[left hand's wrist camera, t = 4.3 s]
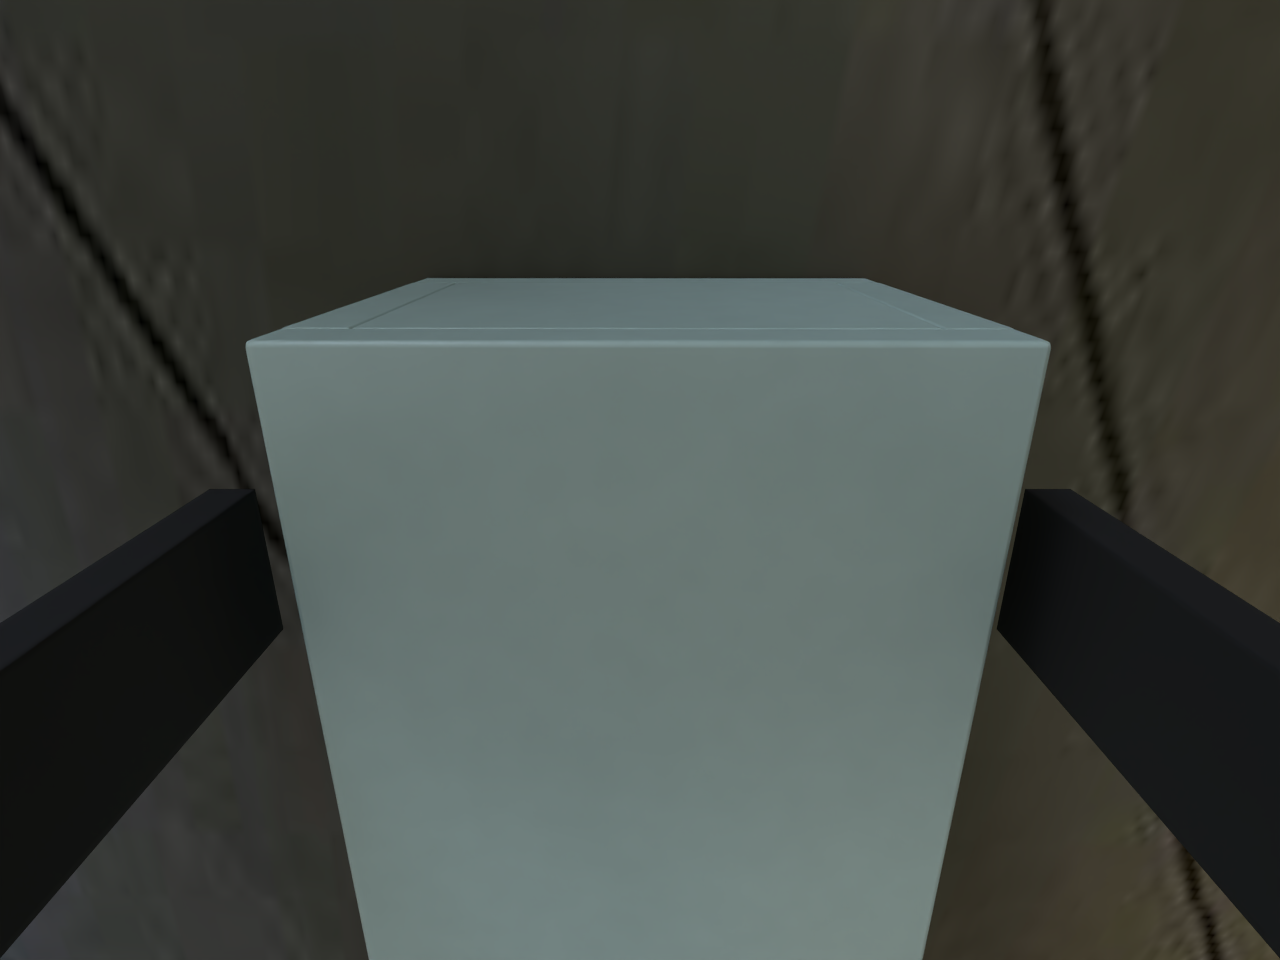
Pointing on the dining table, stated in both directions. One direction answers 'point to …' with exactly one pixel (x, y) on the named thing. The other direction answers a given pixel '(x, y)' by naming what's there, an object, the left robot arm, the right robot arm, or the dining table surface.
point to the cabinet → (647, 604)
